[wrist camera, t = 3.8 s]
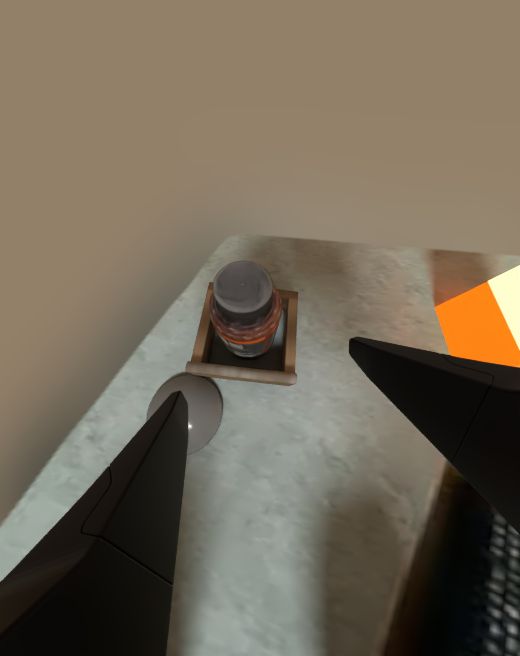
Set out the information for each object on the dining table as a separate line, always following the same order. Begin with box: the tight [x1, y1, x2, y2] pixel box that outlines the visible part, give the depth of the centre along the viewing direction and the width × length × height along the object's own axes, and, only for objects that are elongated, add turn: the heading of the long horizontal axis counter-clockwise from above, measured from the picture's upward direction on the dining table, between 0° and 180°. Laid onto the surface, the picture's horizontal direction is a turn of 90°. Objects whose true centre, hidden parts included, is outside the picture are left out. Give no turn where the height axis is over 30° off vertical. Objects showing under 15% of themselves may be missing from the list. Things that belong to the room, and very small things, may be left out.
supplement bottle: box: [208, 261, 282, 360], centre depth 17 cm, size 6×6×11 cm
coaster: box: [147, 375, 222, 455], centre depth 19 cm, size 8×8×1 cm
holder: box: [185, 282, 298, 386], centre depth 21 cm, size 10×10×4 cm
